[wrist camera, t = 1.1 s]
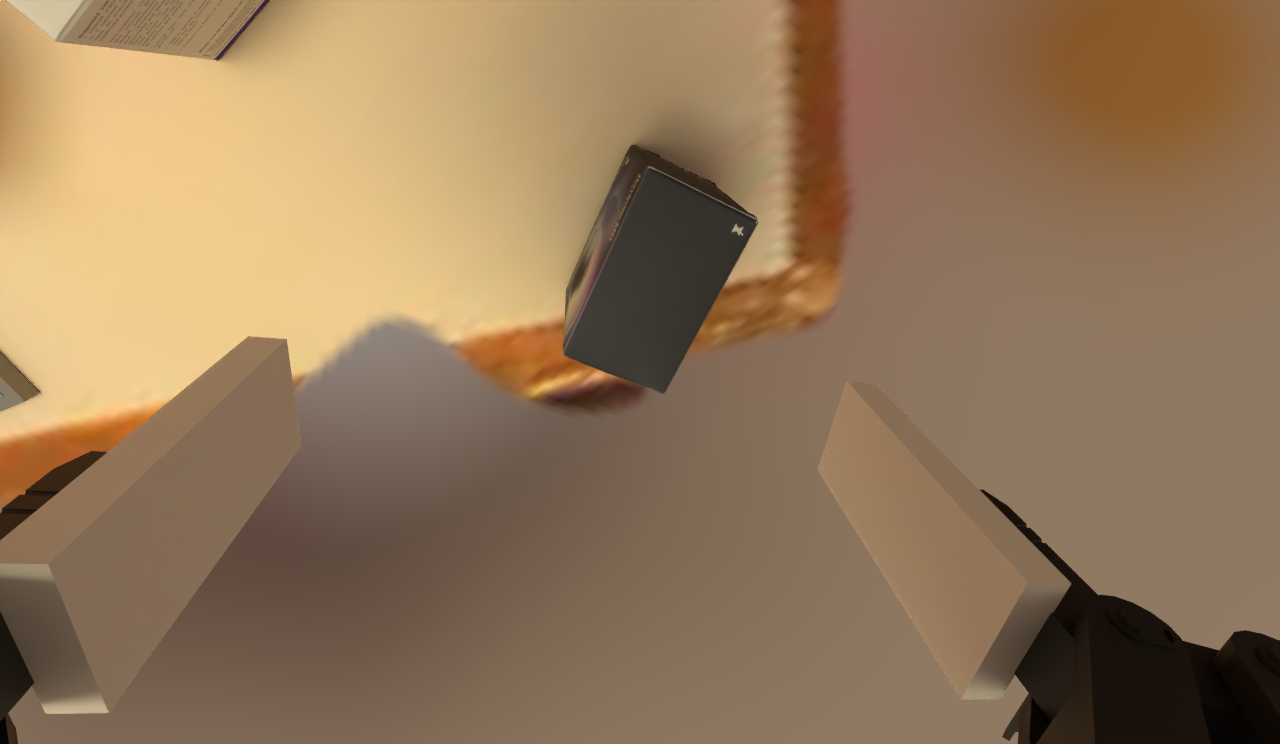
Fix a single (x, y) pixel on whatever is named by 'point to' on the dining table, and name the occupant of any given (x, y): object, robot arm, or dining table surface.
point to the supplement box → (145, 23)
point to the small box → (651, 270)
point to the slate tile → (13, 385)
